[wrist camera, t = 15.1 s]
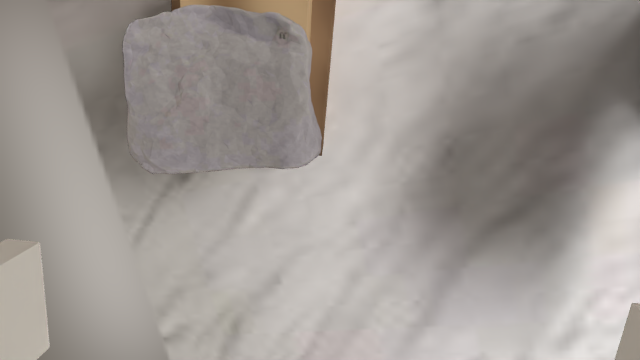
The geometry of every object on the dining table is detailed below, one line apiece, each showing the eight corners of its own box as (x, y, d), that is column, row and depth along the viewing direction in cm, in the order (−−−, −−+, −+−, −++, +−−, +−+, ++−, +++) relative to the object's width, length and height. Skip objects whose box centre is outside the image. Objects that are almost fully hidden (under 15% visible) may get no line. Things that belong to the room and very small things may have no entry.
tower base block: (335, 2, 37) (335, -6, 32) (323, 144, 40) (321, 155, 35) (192, -10, 37) (171, -20, 32) (191, 132, 40) (172, 142, 35)
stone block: (139, 27, 30) (151, 175, 30) (103, 3, 25) (119, 179, 26) (314, 16, 30) (323, 164, 30) (313, -10, 25) (323, 167, 25)
